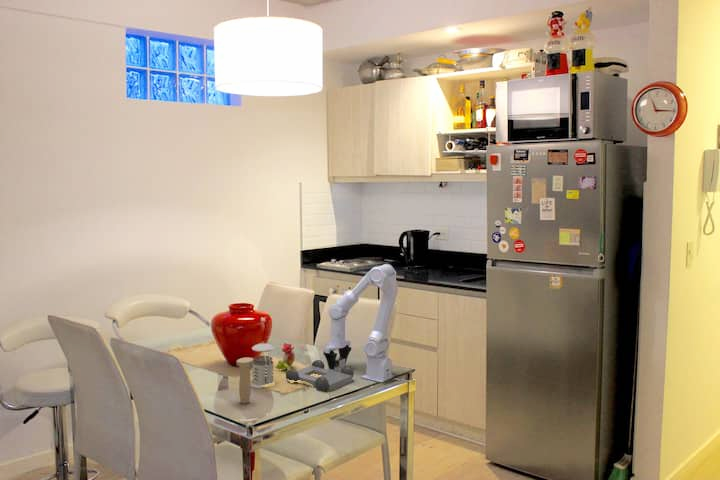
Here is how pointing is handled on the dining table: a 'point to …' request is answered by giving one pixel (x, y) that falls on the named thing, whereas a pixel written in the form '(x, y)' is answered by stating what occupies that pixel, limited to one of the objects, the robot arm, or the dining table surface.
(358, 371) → the dining table surface
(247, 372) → the handle
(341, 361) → the beige block
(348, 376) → the chassis
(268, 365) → the french press
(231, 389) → the dining table surface
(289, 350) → the bird rattle
